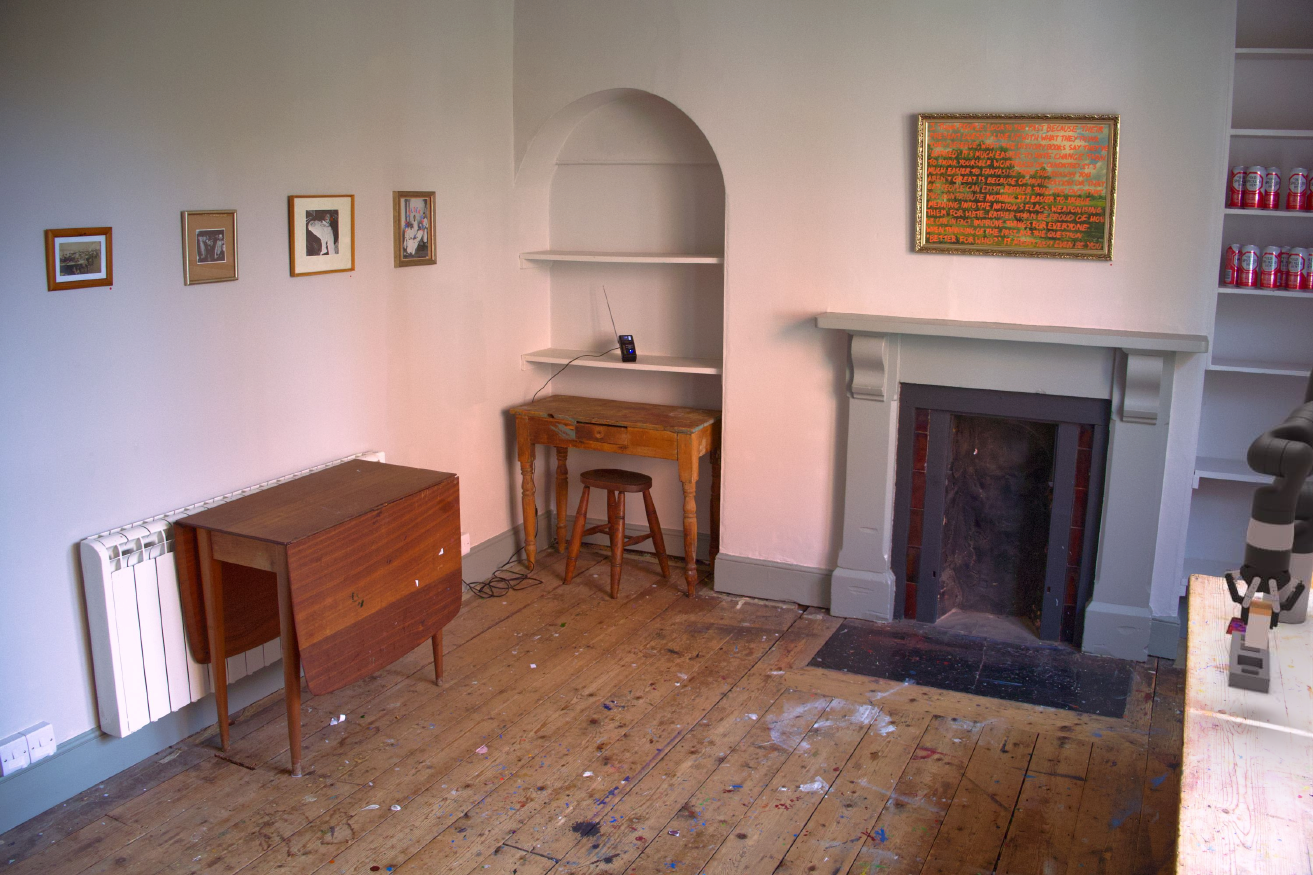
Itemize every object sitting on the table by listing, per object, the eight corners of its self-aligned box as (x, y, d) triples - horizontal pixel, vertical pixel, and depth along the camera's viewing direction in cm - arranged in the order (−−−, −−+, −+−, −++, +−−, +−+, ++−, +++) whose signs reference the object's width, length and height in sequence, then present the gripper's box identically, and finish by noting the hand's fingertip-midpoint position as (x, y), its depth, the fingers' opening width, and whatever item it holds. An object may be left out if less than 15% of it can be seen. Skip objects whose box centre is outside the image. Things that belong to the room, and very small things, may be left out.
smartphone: (1222, 639, 234) (1231, 615, 246) (1222, 643, 234) (1231, 619, 246) (1261, 648, 229) (1269, 623, 241) (1261, 651, 230) (1269, 626, 242)
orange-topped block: (1245, 636, 205) (1250, 598, 203) (1266, 640, 203) (1271, 602, 201) (1245, 645, 201) (1250, 607, 199) (1266, 649, 199) (1271, 610, 197)
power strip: (1230, 647, 231) (1232, 627, 230) (1266, 653, 228) (1269, 633, 226) (1227, 689, 212) (1230, 668, 211) (1267, 697, 209) (1270, 675, 208)
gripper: (1226, 542, 197) (1216, 626, 201) (1314, 553, 190) (1301, 640, 194) (1227, 530, 203) (1217, 612, 208) (1312, 541, 197) (1300, 625, 201)
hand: (1258, 625), depth 201 cm, fingers closed on orange-topped block, 3 cm apart
